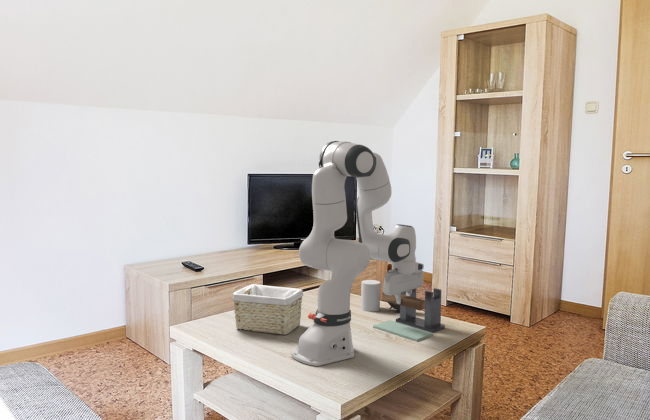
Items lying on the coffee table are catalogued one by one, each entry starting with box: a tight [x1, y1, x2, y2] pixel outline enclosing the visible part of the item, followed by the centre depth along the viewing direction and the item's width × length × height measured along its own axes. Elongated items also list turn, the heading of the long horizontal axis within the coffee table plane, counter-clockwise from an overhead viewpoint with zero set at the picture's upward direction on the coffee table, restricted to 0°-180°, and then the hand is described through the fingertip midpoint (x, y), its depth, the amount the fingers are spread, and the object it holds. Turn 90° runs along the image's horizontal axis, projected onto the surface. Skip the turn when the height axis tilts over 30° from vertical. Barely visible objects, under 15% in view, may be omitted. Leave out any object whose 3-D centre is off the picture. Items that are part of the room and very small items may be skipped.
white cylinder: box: [360, 279, 381, 313], centre depth 233 cm, size 8×8×12 cm
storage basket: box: [232, 283, 304, 335], centre depth 208 cm, size 24×16×15 cm
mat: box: [372, 319, 434, 342], centre depth 204 cm, size 10×21×1 cm, turn 43°
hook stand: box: [395, 287, 446, 334], centre depth 211 cm, size 8×18×15 cm, turn 43°
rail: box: [381, 291, 425, 311], centre depth 203 cm, size 3×18×3 cm, turn 43°
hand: (403, 302), depth 203 cm, fingers closed on rail, 3 cm apart
